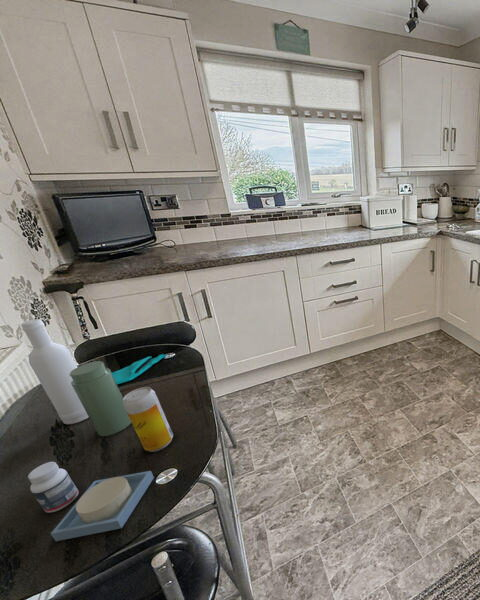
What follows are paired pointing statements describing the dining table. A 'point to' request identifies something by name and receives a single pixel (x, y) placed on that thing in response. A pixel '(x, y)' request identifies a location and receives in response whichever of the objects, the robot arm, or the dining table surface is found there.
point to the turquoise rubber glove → (135, 369)
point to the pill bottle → (52, 487)
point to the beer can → (148, 419)
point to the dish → (76, 527)
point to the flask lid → (104, 500)
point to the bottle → (54, 372)
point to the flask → (100, 397)
